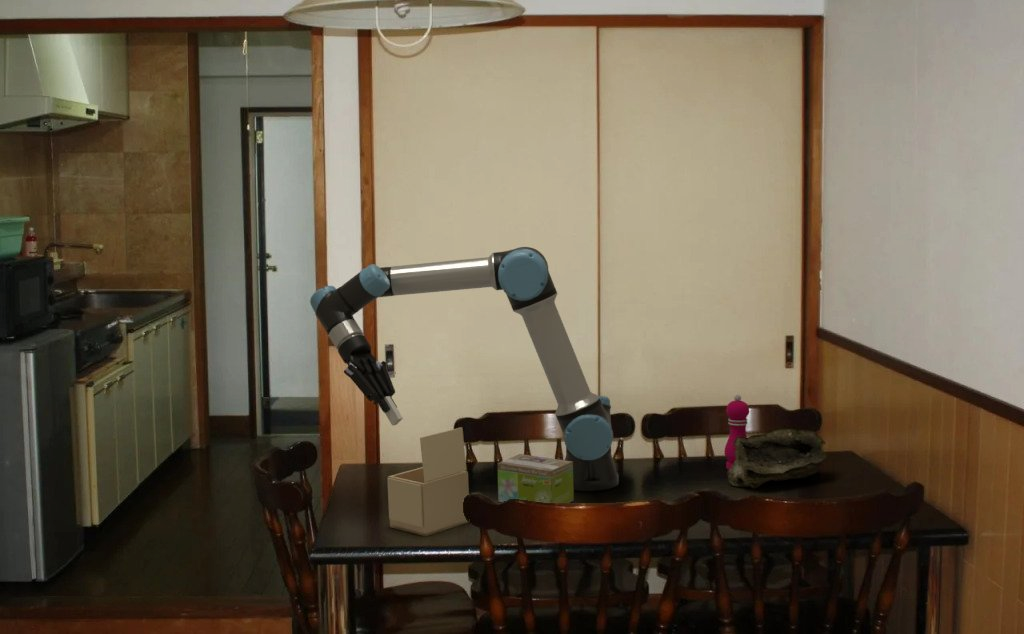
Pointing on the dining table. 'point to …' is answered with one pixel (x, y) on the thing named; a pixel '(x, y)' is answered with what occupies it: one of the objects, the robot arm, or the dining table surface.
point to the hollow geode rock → (776, 457)
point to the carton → (426, 502)
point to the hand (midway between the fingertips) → (397, 421)
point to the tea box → (535, 479)
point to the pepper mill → (735, 427)
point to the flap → (443, 454)
